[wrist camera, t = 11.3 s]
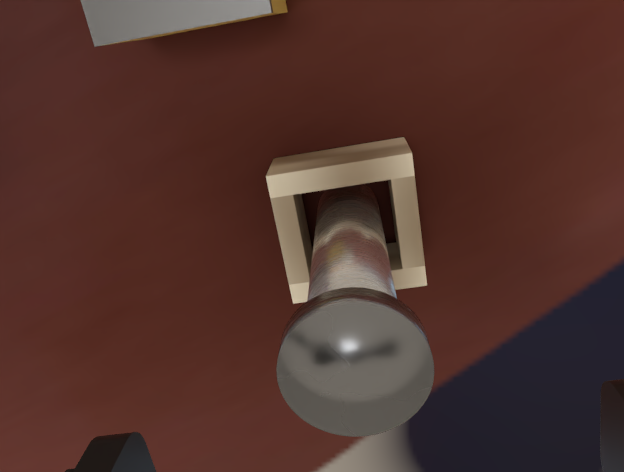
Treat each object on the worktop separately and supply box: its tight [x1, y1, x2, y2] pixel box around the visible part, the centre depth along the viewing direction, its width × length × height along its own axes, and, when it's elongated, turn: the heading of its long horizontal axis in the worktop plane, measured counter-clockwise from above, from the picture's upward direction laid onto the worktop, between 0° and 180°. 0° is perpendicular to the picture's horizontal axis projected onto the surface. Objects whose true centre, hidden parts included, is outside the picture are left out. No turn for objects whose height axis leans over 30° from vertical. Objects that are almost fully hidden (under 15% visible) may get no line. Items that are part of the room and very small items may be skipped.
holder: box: [266, 137, 427, 304], centre depth 21 cm, size 5×5×2 cm
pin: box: [277, 184, 434, 436], centre depth 17 cm, size 3×3×11 cm
